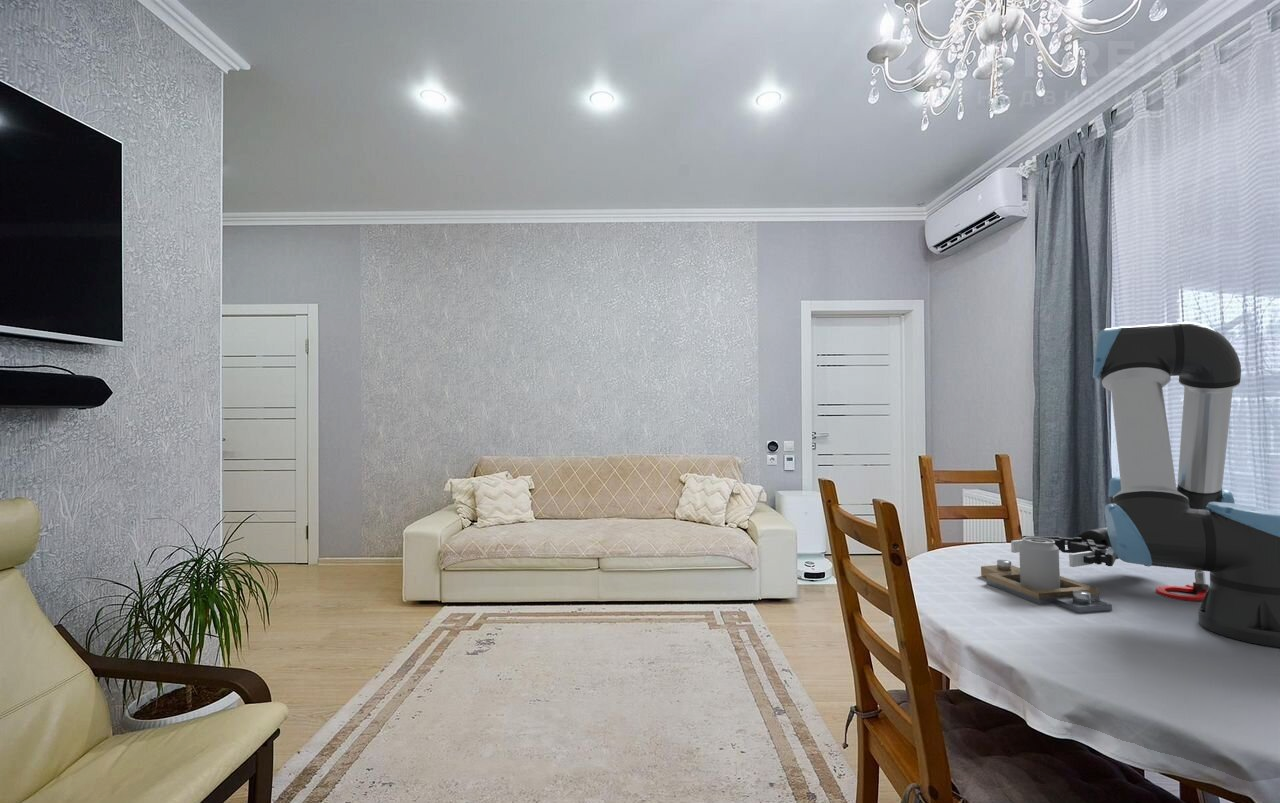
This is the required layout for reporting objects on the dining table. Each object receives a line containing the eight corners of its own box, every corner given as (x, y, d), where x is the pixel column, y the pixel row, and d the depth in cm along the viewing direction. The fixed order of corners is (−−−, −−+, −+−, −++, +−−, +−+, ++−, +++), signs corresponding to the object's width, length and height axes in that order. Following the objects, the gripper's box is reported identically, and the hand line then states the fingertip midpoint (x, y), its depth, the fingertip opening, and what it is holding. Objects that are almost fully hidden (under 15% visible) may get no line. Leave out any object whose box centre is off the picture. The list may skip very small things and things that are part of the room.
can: (1058, 589, 133) (1057, 537, 133) (1061, 598, 127) (1060, 544, 127) (1020, 584, 137) (1018, 534, 137) (1021, 593, 131) (1019, 540, 131)
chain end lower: (1126, 609, 119) (1126, 594, 119) (1063, 614, 117) (1063, 599, 117) (1041, 579, 140) (1041, 567, 140) (986, 583, 138) (986, 571, 138)
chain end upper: (1099, 599, 125) (1098, 580, 125) (1038, 604, 123) (1038, 585, 123) (1021, 572, 146) (1021, 556, 146) (968, 576, 144) (968, 559, 144)
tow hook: (1178, 603, 123) (1223, 601, 123) (1173, 543, 124) (1218, 541, 123) (1146, 591, 132) (1188, 589, 131) (1141, 535, 132) (1183, 533, 132)
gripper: (1164, 573, 127) (1099, 585, 120) (1051, 548, 151) (991, 556, 144) (1163, 539, 128) (1098, 549, 121) (1050, 520, 151) (991, 526, 144)
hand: (1040, 553), depth 132 cm, fingers open, 13 cm apart
